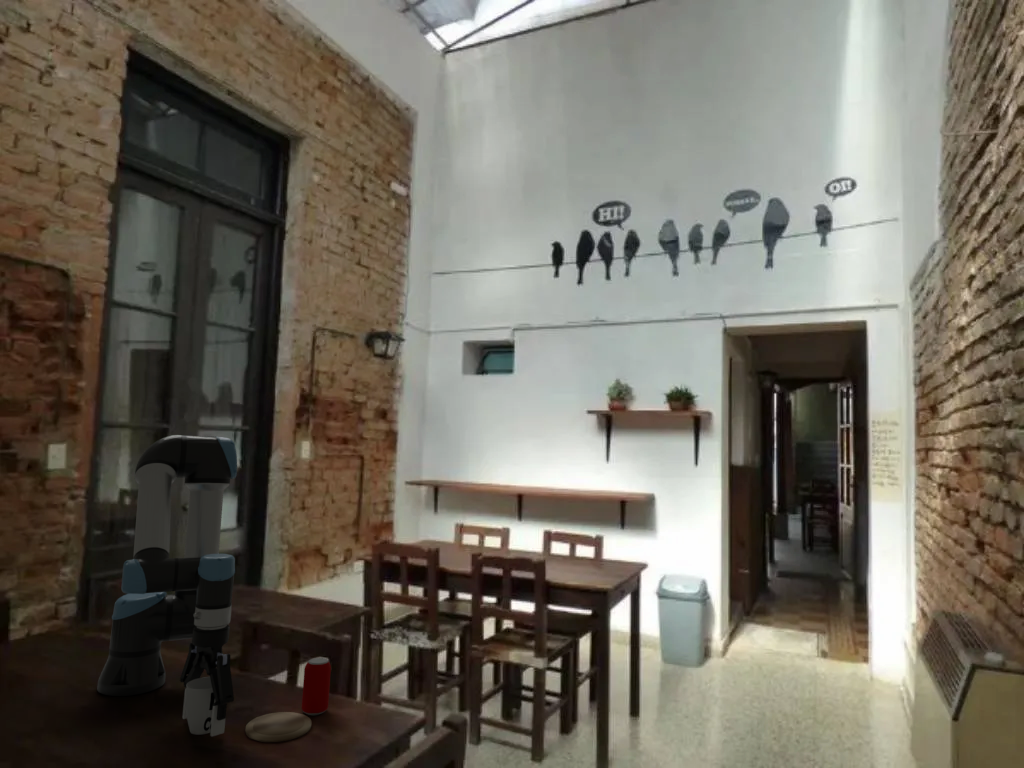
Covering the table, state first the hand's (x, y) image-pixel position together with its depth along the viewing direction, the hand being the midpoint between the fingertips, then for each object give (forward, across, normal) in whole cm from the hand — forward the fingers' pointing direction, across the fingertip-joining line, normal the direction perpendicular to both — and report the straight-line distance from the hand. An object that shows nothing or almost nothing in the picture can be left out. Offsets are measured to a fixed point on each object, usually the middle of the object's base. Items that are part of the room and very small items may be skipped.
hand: (202, 725), depth 146 cm
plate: (+1, +11, +12) cm, 16 cm away
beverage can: (+1, +9, +23) cm, 25 cm away
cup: (+1, 0, 0) cm, 1 cm away
